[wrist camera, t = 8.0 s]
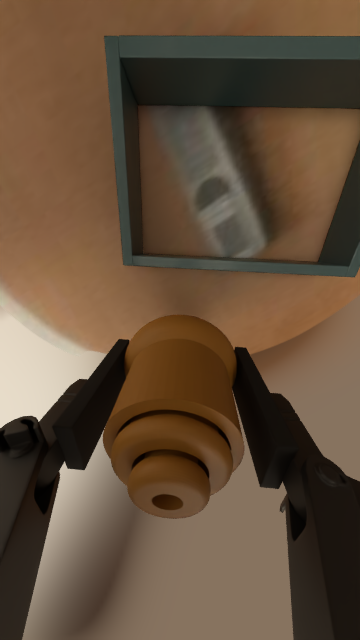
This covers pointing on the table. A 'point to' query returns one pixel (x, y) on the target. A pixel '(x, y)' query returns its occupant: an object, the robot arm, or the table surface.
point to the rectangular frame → (231, 90)
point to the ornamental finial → (175, 417)
